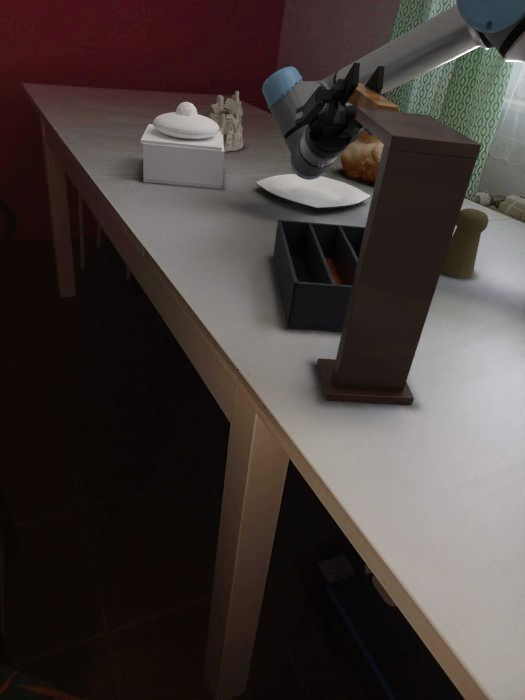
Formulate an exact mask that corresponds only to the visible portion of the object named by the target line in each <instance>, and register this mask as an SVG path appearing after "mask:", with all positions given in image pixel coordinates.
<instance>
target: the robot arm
mask: <svg viewBox="0 0 525 700" xmlns="http://www.w3.org/2000/svg"><path fill="white" fill-rule="evenodd" d="M455 3H456V4H454V5H452V6H451V7H449V8H447V9H446V10H443V11H442V12H440V13H439V14H436V15H435V16H433V17H431V18H430V19H428V20H426V21H424V22H423V23H420V24H419V25H416V26H415V27H413V28H412V29H410V30H407V31H406V32H405V33H403V34H401V35H399V36H398V37H396V38H394V39H391V40H390V41H389V42H387V43H385V44H383V45H381V46H380V47H378V48H377V49H375V50H372V51H371V52H369V53H368V54H366V55H364V56H362V57H360V58H359V59H357V60H355V61H353V62H352V63H350V64H348V65H346V66H345V67H342V68H341V69H339V70H338V71H336V72H334V73H332V74H331V75H328V76H327V77H325V78H323V79H321V80H308V81H307V80H305V81H304V80H303V76H302V75H301V74H300V72H299V71H298V69H297V68H296V67H295V66H286V67H283V68H280V69H278V70H276V71H275V72H274V73H272V74H271V75H270V76H269V77H268V78H266V79H265V81H264V82H263V84H262V88H261V90H262V94H263V96H264V99H265V101H266V104H267V108H268V109H269V111H270V113H271V115H272V117H273V119H274V121H275V123H276V125H277V127H278V129H279V131H280V133H281V135H282V137H283V139H284V142H285V144H286V146H287V148H288V150H289V153H290V166H291V169H292V171H293V172H294V174H296V175H297V176H299V177H300V178H303V179H306V180H313V179H316V178H318V177H320V176H323V175H324V174H325V173H327V172H328V171H329V170H330V168H331V166H332V165H333V163H335V161H336V160H337V159H338V158H339V157H340V156H341V154H342V153H343V151H344V150H345V149H346V147H347V146H348V145H349V144H351V143H352V141H353V138H354V136H358V134H359V133H360V131H364V132H368V134H369V135H373V134H371V133H370V132H369V131H368V130H367V129H366V128H365V127H364V126H363V125H361V124H360V123H359V122H358V121H357V120H356V119H355V118H356V113H357V109H356V108H355V107H354V106H353V105H352V104H350V103H349V102H348V99H349V98H350V97H351V95H352V94H353V92H354V91H355V89H356V88H357V86H358V84H359V83H361V84H363V85H365V86H366V87H368V88H369V89H371V90H373V91H374V92H376V93H378V94H379V95H381V96H382V97H384V98H386V99H387V94H386V93H388V92H390V91H392V90H394V89H396V88H398V87H400V86H402V85H404V84H407V83H409V82H410V81H412V80H414V79H416V78H419V77H420V76H422V75H424V74H427V73H429V72H431V71H433V70H435V69H436V68H439V67H441V66H442V65H445V64H448V63H449V62H451V61H454V60H455V59H458V58H460V57H462V56H463V55H465V54H468V53H469V52H471V51H473V50H475V49H477V48H482V49H484V50H490V49H492V48H495V50H496V51H497V53H499V55H500V56H501V57H502V59H503V60H504V61H505V62H506V63H517V62H518V63H523V64H524V65H525V0H455Z"/></svg>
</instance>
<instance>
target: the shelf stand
mask: <svg viewBox="0 0 525 700" xmlns="http://www.w3.org/2000/svg"><path fill="white" fill-rule="evenodd" d="M355 119H356V120H357V121H358V122H359V123H360V124H361V125H363V126H364V127H365V128H366V129H367V130H368V131H369V132H370V133H371V134H373V135H374V136H375V137H376V138H377V139H378V140H379V141H380V142H381V143H382V144H384V146H383V150H382V154H381V159H380V163H379V168H378V172H377V177H376V181H375V186H373V191H372V194H371V200H370V205H369V208H368V213H367V218H366V221H365V226H364V227H365V231H364V235H363V240H362V244H361V249H360V253H359V258H358V262H357V267H356V271H355V276H354V280H353V285H352V289H351V293H350V298H349V302H348V307H347V311H346V316H345V320H344V325H343V329H342V332H341V335H340V339H339V344H338V347H337V353H336V357H335V358H317V361H316V368H317V372H318V376H319V379H320V383H321V388H322V392H323V395H324V399H325V401H327V402H345V403H346V402H350V403H371V404H388V405H390V404H391V405H413V402H414V401H415V400H414V399H415V396H414V395H413V392H412V391H411V389H410V387H409V384H408V383H407V381H408V377H409V374H410V371H411V368H412V365H413V361H414V359H415V355H416V352H417V349H418V346H419V342H420V339H421V337H422V334H423V330H424V327H425V323H426V321H427V318H428V314H429V312H430V308H431V306H432V305H431V304H432V301H433V298H434V295H435V292H436V289H437V286H438V283H439V280H440V276H441V273H442V272H441V270H442V267H443V264H444V261H445V258H446V255H447V251H448V248H449V245H450V242H451V239H452V236H453V234H454V232H455V230H456V227H457V226H456V223H457V220H458V217H459V214H460V211H461V210H462V207H463V204H464V200H465V197H466V195H467V191H468V188H469V185H470V181H471V178H472V175H473V173H474V170H475V166H476V162H477V160H478V157H479V153H480V151H481V148H482V144H481V143H479V142H477V141H476V140H473V139H472V138H470V137H469V136H467V135H465V134H463V133H462V132H460V131H458V130H456V129H455V128H453V127H451V126H449V125H447V124H445V123H443V122H442V121H440V120H439V119H436V118H435V117H433V116H431V115H430V114H421V113H414V112H413V113H412V112H404V111H399V112H396V111H387V110H378V109H369V108H360V107H358V108H357V113H356V118H355Z"/></svg>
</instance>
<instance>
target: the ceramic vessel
mask: <svg viewBox="0 0 525 700" xmlns="http://www.w3.org/2000/svg"><path fill="white" fill-rule="evenodd" d="M383 146H384V144H382V143H381V142H380V141H379V140H378V139H377V138H376V137H375V136H374V135H369V134H368V132H364V131H360V133H359V134H357V139H356V140H354V141H353V142H352V141H351V142H350V143H349V145H348V146H347V147H346V149H345V150H344V151H343V152H342V153H341V154H340V163H341V167H342V172H343V174H345V176H346V177H347V178H348V179H350V180H353V181H356V182H360V183H363V184H365V185H366V184H367V185H370V186H373V187H374V186H375V181H376V177H377V172H378V168H379V163H380V159H381V154H382V150H383Z"/></svg>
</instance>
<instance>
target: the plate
mask: <svg viewBox="0 0 525 700" xmlns="http://www.w3.org/2000/svg"><path fill="white" fill-rule="evenodd" d="M255 184H256V185H257V186H259V187H260V188H261V189H262V190H264V191H266V192H268V193H269V194H271V195H273V196H275V197H277V198H279V199H281V200H282V201H285V202H287V203H290V204H293V205H296V206H299V207H301V208H305V209H309V210H312V211H319V210H320V211H321V210H333V209H338V208H344V207H351V206H354V205H358V204H360V203H362V202H364V201H367V200H368V199H370V198H371V195H369V194H368V193H366V192H365V191H363V190H361V189H359V188H358V187H355V186H353V185H350V184H349V183H346V182H344V181H343V182H342V181H341V180H337V179H333V178H330V177H326V176H323V175H321V176H320V177H318V178H316V179H313V180H306V179H303V178H300V177H299V176H297V175H296V174H295V173H287V174H286V173H285V174H278V175H272V176H269V177H265V178H263V179H260V180H257V181H255Z"/></svg>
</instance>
